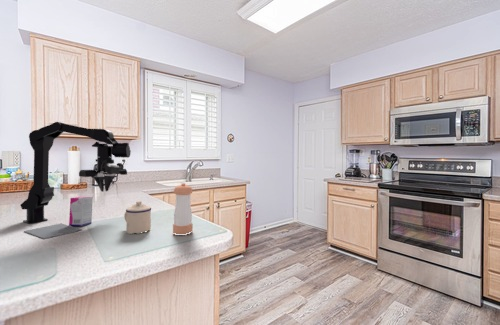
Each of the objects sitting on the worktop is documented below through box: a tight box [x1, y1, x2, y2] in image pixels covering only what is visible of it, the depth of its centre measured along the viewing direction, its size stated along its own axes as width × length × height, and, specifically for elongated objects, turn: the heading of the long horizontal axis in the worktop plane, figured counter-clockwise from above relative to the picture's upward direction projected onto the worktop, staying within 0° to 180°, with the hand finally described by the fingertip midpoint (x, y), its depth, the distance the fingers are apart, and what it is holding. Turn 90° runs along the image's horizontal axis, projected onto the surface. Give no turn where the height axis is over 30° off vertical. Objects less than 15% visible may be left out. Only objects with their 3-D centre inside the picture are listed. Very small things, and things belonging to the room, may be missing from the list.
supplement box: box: [68, 196, 94, 227], centre depth 100 cm, size 6×6×12 cm
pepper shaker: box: [172, 183, 193, 234], centre depth 91 cm, size 7×7×19 cm
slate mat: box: [23, 223, 83, 240], centre depth 91 cm, size 16×12×1 cm
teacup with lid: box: [123, 200, 152, 234], centre depth 94 cm, size 12×9×12 cm
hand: (104, 191), depth 108 cm, fingers closed
